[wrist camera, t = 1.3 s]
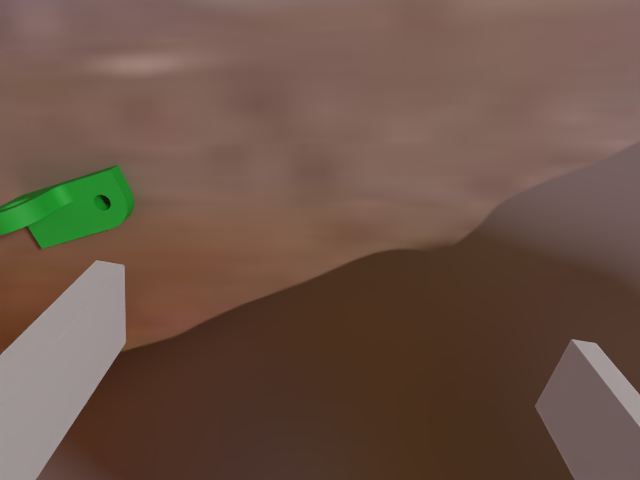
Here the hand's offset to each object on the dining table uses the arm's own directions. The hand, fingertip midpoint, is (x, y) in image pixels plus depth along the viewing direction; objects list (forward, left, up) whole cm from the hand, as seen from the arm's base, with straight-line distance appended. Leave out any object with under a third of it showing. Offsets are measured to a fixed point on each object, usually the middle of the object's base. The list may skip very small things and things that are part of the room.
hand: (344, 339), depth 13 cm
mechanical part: (+15, -26, -35) cm, 46 cm away
